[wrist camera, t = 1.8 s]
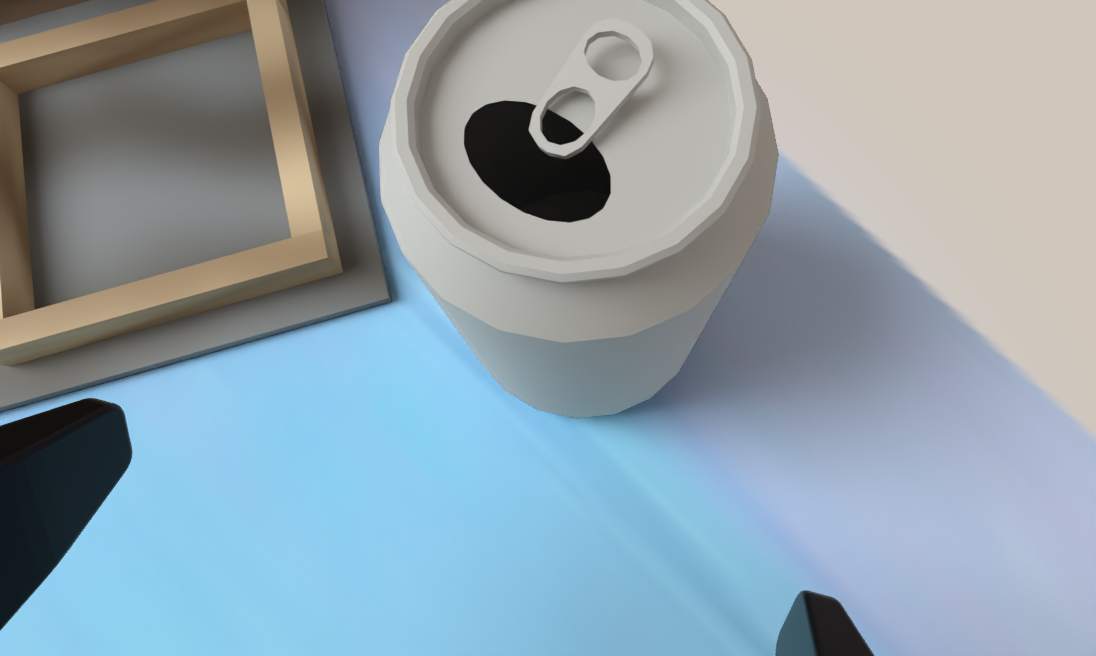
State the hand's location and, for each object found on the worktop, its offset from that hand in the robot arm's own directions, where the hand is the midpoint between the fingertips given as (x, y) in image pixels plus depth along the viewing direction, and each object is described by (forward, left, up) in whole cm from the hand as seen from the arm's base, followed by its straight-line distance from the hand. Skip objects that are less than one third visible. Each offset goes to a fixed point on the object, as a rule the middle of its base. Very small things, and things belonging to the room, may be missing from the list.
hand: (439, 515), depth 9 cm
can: (+6, -3, -13) cm, 15 cm away
